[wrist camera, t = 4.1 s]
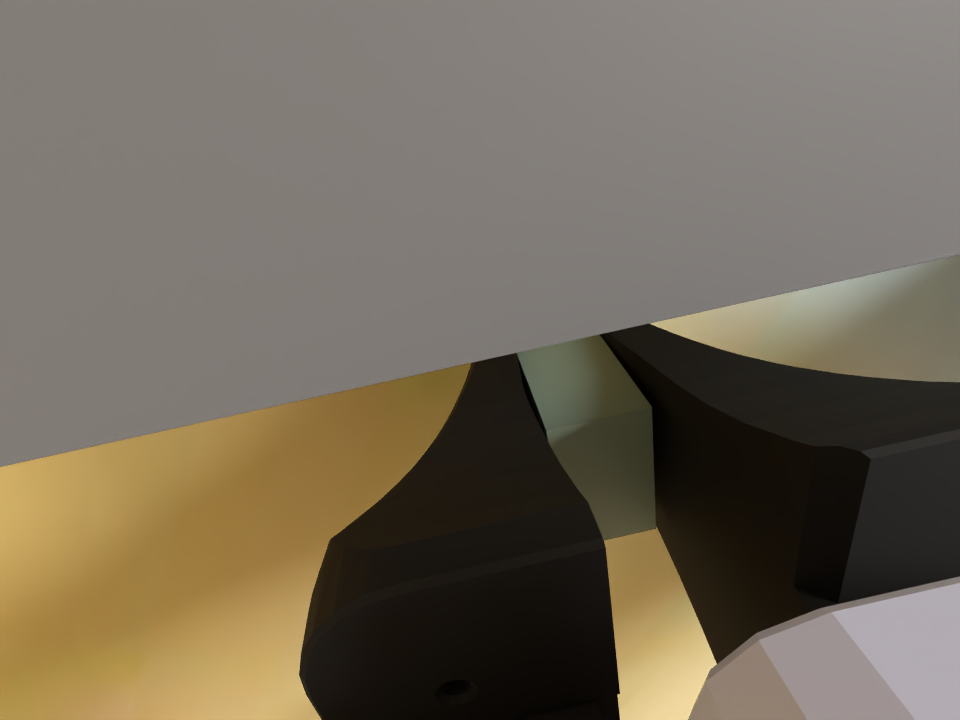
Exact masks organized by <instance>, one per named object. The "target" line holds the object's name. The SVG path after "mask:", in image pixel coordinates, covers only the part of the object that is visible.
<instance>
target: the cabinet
mask: <svg viewBox="0 0 960 720" xmlns="http://www.w3.org/2000/svg"><path fill="white" fill-rule="evenodd" d="M956 255H960V0H0V467H2V466H6V465H11V464H16V463H20V462H25V461H29V460H34V459H38V458H43V457H47V456H52V455H56V454H61V453H65V452H70V451H74V450H79V449H83V448H88V447H92V446H97V445H101V444H106V443H111V442H115V441H120V440H124V439H129V438H133V437H138V436H142V435H147V434H151V433H156V432H160V431H165V430H169V429H174V428H178V427H183V426H187V425H192V424H196V423H201V422H205V421H210V420H215V419H219V418H224V417H228V416H233V415H237V414H242V413H246V412H251V411H255V410H260V409H264V408H269V407H273V406H278V405H282V404H287V403H291V402H296V401H300V400H305V399H309V398H314V397H319V396H323V395H328V394H332V393H337V392H341V391H346V390H350V389H355V388H359V387H364V386H368V385H373V384H377V383H382V382H386V381H391V380H395V379H400V378H404V377H409V376H413V375H418V374H423V373H427V372H432V371H436V370H441V369H445V368H450V367H454V366H459V365H463V364H468V363H472V362H477V361H481V360H486V359H490V358H495V357H499V356H504V355H508V354H513V353H518V352H522V351H527V350H531V349H536V348H540V347H545V346H549V345H554V344H558V343H563V342H567V341H572V340H576V339H581V338H585V337H590V336H594V335H599V334H603V333H608V332H612V331H617V330H622V329H626V328H631V327H635V326H640V325H644V324H649V323H653V322H658V321H662V320H667V319H671V318H676V317H680V316H685V315H689V314H694V313H698V312H703V311H707V310H712V309H716V308H721V307H726V306H730V305H735V304H739V303H744V302H748V301H753V300H757V299H762V298H766V297H771V296H775V295H780V294H784V293H789V292H793V291H798V290H802V289H807V288H811V287H816V286H821V285H825V284H830V283H834V282H839V281H843V280H848V279H852V278H857V277H861V276H866V275H870V274H875V273H879V272H884V271H888V270H893V269H897V268H902V267H906V266H911V265H915V264H920V263H925V262H929V261H934V260H938V259H943V258H947V257H952V256H956Z"/></svg>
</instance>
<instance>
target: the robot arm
mask: <svg viewBox="0 0 960 720" xmlns="http://www.w3.org/2000/svg"><path fill="white" fill-rule="evenodd" d="M599 335H600V336H601V337H602V339H603V340H604V341H605V343H606V344H607V346H608V347H609V348H610V350H611V351H612V353H613V354H614V355H615V357H616V358H617V359H618V361H619V362H620V364H621V365H622V366H623V368H624V369H625V370H626V372H627V373H628V375H629V376H630V377H631V379H632V380H633V382H634V383H635V384H636V386H637V387H638V388H639V390H640V391H641V393H642V394H643V395H644V397H645V398H646V399H647V401H648V402H649V404H650V405H651V406H652V423H653V454H654V484H655V514H656V527H657V528H658V530H659V532H660V534H661V537H662V539H663V541H664V543H665V545H666V548H667V550H668V552H669V554H670V556H671V558H672V561H673V563H674V565H675V567H676V569H677V572H678V574H679V576H680V578H681V581H682V583H683V585H684V587H685V590H686V592H687V594H688V597H689V599H690V601H691V603H692V606H693V608H694V610H695V613H696V615H697V617H698V619H699V622H700V624H701V626H702V629H703V631H704V634H705V636H706V639H707V641H708V643H709V646H710V648H711V651H712V653H713V655H714V658H715V660H716V663H717V665H716V666H714V667H713V668H712V669H711V670H710V671H709V674H708V676H707V678H706V680H705V682H704V685H703V687H702V689H701V691H700V693H699V695H698V698H697V700H696V702H695V704H694V706H693V709H692V711H691V714H690V716H689V719H688V720H960V382H925V381H910V380H897V379H885V378H872V377H863V376H854V375H845V374H837V373H830V372H824V371H817V370H811V369H804V368H798V367H792V366H787V365H782V364H777V363H772V362H768V361H763V360H759V359H755V358H751V357H746V356H742V355H738V354H735V353H731V352H727V351H724V350H721V349H717V348H714V347H711V346H708V345H705V344H702V343H699V342H696V341H693V340H690V339H687V338H684V337H682V336H679V335H676V334H674V333H671V332H668V331H666V330H663V329H661V328H658V327H656V326H653V325H651V324H644V325H640V326H635V327H631V328H626V329H622V330H617V331H612V332H608V333H603V334H599ZM299 676H300V679H301V681H302V684H303V687H304V690H305V692H306V695H307V697H308V698H309V700H310V702H311V703H312V705H313V706H314V708H315V710H316V711H317V713H318V714H319V716H320V718H321V719H322V720H620V717H619V707H618V697H617V694H620V690H619V680H618V670H617V659H616V649H615V639H614V629H613V619H612V608H611V598H610V588H609V578H608V568H607V558H606V548H605V544H604V540H603V537H602V534H601V532H600V530H599V527H598V525H597V522H596V520H595V518H594V515H593V513H592V510H591V508H590V505H589V503H588V501H587V500H586V499H585V498H584V496H583V495H582V494H581V493H580V491H579V490H578V489H577V487H576V486H575V484H574V483H573V481H572V480H571V479H570V477H569V476H568V474H567V473H566V471H565V470H564V468H563V467H562V465H561V464H560V462H559V460H558V458H557V457H556V455H555V453H554V451H553V450H552V448H551V446H550V444H549V443H548V441H547V439H546V437H545V435H544V433H543V431H542V429H541V427H540V425H539V423H538V421H537V419H536V417H535V415H534V412H533V410H532V408H531V406H530V404H529V401H528V399H527V397H526V394H525V390H524V387H523V383H522V378H521V372H520V367H519V362H518V357H517V353H513V354H508V355H504V356H499V357H495V358H490V359H486V360H481V361H477V362H472V363H471V367H470V370H469V372H468V375H467V378H466V381H465V384H464V386H463V389H462V391H461V393H460V395H459V397H458V400H457V402H456V404H455V406H454V408H453V410H452V412H451V414H450V416H449V418H448V419H447V421H446V423H445V424H444V426H443V428H442V429H441V431H440V432H439V434H438V436H437V437H436V439H435V440H434V442H433V443H432V444H431V446H430V447H429V448H428V450H427V451H426V452H425V454H424V455H423V456H422V457H421V459H420V460H419V461H418V462H417V464H416V465H415V466H414V467H413V468H412V469H411V470H410V471H409V472H408V473H407V474H406V475H405V477H404V478H403V479H402V480H401V481H400V482H399V483H398V484H397V485H396V486H395V487H393V488H392V489H391V490H390V491H389V492H388V493H387V494H386V495H385V496H384V497H383V498H382V499H381V500H379V501H378V502H377V503H376V504H375V505H374V506H372V507H371V508H370V509H369V510H367V511H366V512H365V513H364V514H362V515H361V516H360V517H359V518H357V519H356V520H355V521H354V522H352V523H351V524H350V525H349V526H347V527H346V528H345V529H343V530H342V531H341V532H340V533H338V534H337V535H335V536H334V537H333V538H331V540H330V541H329V544H328V547H327V550H326V553H325V556H324V559H323V562H322V565H321V568H320V571H319V574H318V577H317V581H316V584H315V587H314V590H313V594H312V598H311V602H310V607H309V612H308V618H307V623H306V629H305V635H304V641H303V646H302V652H301V661H300V672H299Z"/></svg>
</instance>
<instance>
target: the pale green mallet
mask: <svg viewBox="0 0 960 720" xmlns="http://www.w3.org/2000/svg"><path fill="white" fill-rule="evenodd" d="M517 357H518V362H519V367H520V372H521V378H522V383H523V387H524V390H525V394H526V397H527V399H528V401H529V404H530V406H531V408H532V410H533V412H534V415H535V417H536V419H537V421H538V423H539V425H540V427H541V429H542V431H543V433H544V435H545V437H546V439H547V441H548V443H549V444H550V446H551V448H552V450H553V451H554V453H555V455H556V457H557V458H558V460H559V462H560V464H561V465H562V467H563V468H564V470H565V471H566V473H567V474H568V476H569V477H570V479H571V480H572V481H573V483H574V484H575V486H576V487H577V489H578V490H579V491H580V493H581V494H582V495H583V496H584V498H585V499H586V500H587V501H588V503H589V505H590V508H591V510H592V513H593V515H594V518H595V520H596V522H597V525H598V527H599V530H600V532H601V534H602V537H603V540H608V539H612V538H616V537H621V536H625V535H630V534H634V533H638V532H643V531H647V530H652V529H656V514H655V484H654V454H653V423H652V406H651V405H650V404H649V402H648V401H647V399H646V398H645V397H644V395H643V394H642V393H641V391H640V390H639V388H638V387H637V386H636V384H635V383H634V382H633V380H632V379H631V377H630V376H629V375H628V373H627V372H626V370H625V369H624V368H623V366H622V365H621V364H620V362H619V361H618V359H617V358H616V357H615V355H614V354H613V353H612V351H611V350H610V348H609V347H608V346H607V344H606V343H605V341H604V340H603V339H602V337H601V336H600V335H594V336H590V337H585V338H581V339H576V340H572V341H567V342H563V343H558V344H554V345H549V346H545V347H540V348H536V349H531V350H527V351H522V352H518V353H517Z"/></svg>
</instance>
